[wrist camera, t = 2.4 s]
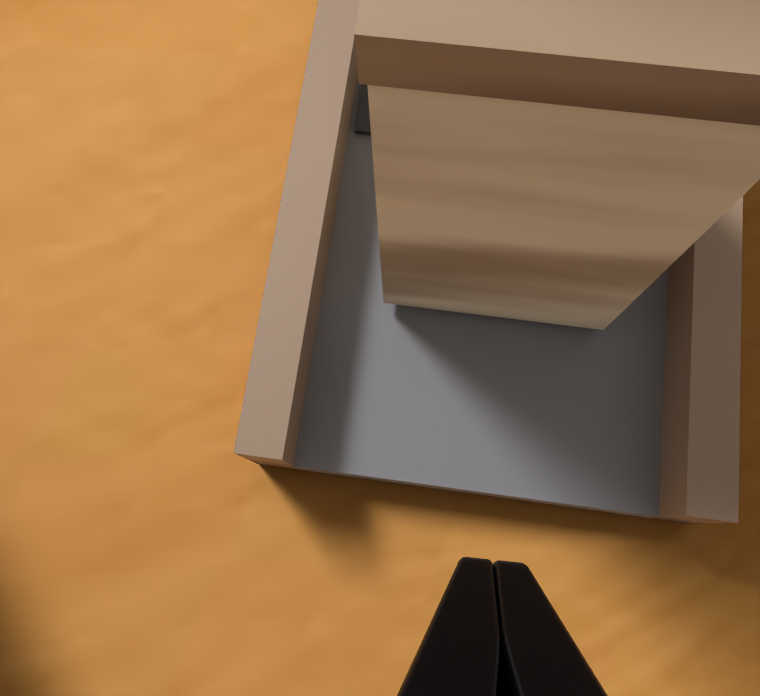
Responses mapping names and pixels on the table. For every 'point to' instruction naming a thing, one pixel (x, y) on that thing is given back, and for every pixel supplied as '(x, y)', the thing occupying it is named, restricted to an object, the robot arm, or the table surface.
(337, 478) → the table surface
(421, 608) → the table surface
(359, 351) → the box
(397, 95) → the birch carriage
